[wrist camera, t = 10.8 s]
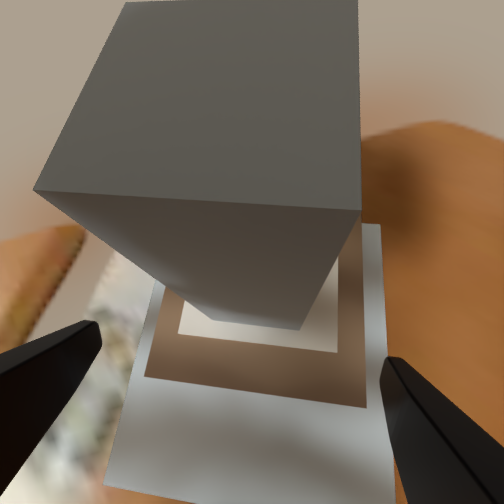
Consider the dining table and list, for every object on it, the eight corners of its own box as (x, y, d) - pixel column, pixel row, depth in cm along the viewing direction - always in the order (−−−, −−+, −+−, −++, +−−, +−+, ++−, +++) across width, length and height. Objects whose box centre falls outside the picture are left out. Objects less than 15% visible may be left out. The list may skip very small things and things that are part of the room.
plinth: (392, 535, 15) (423, 581, 12) (110, 479, 17) (70, 506, 14) (376, 229, 21) (393, 204, 18) (176, 216, 23) (160, 192, 20)
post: (299, 330, 16) (361, 210, 4) (212, 320, 16) (32, 189, 4) (304, 248, 18) (357, -6, 6) (226, 242, 18) (125, 2, 6)
